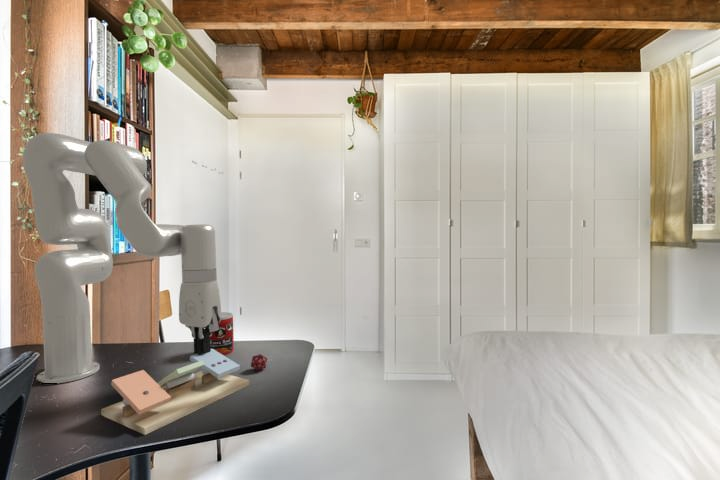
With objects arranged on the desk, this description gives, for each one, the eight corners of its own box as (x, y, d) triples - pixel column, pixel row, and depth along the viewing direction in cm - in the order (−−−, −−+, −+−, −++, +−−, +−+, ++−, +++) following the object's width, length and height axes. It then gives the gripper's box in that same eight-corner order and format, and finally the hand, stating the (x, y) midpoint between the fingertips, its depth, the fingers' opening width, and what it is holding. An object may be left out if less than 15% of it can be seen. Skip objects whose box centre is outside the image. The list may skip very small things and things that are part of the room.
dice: (259, 366, 99) (258, 351, 99) (270, 369, 97) (270, 353, 96) (247, 370, 96) (247, 355, 96) (259, 374, 93) (258, 358, 93)
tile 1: (109, 390, 73) (112, 379, 72) (141, 379, 78) (143, 369, 78) (137, 421, 68) (139, 409, 68) (168, 407, 73) (171, 396, 73)
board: (101, 415, 74) (100, 400, 74) (206, 373, 95) (206, 361, 94) (144, 435, 66) (144, 418, 66) (249, 385, 87) (248, 372, 87)
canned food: (206, 358, 106) (205, 319, 106) (205, 350, 113) (204, 313, 113) (235, 354, 109) (234, 316, 109) (232, 346, 117) (231, 311, 116)
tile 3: (188, 365, 88) (190, 355, 87) (210, 357, 93) (212, 348, 92) (217, 384, 83) (218, 373, 82) (238, 374, 88) (240, 364, 87)
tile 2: (156, 396, 80) (152, 385, 80) (182, 386, 85) (178, 375, 86) (180, 380, 75) (176, 368, 76) (206, 370, 80) (202, 359, 81)
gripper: (165, 277, 90) (168, 353, 90) (206, 280, 82) (209, 363, 83) (193, 273, 96) (196, 345, 97) (234, 276, 89) (236, 353, 89)
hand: (202, 353), depth 90 cm, fingers closed
